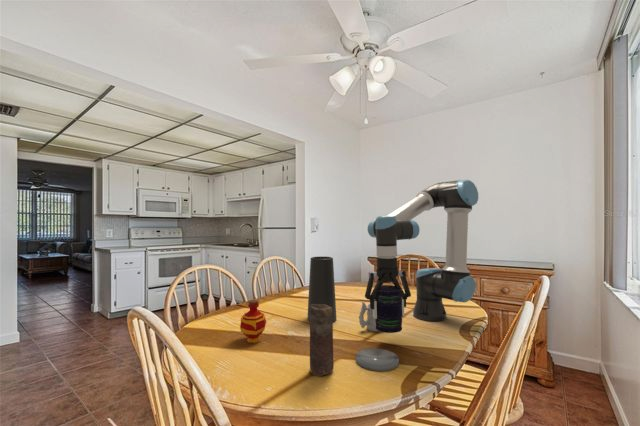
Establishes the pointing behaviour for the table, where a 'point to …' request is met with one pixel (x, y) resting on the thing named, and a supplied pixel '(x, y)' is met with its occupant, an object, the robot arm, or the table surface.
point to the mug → (370, 319)
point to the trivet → (377, 359)
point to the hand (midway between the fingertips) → (388, 316)
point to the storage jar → (389, 309)
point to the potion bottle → (253, 322)
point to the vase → (322, 284)
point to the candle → (321, 339)
